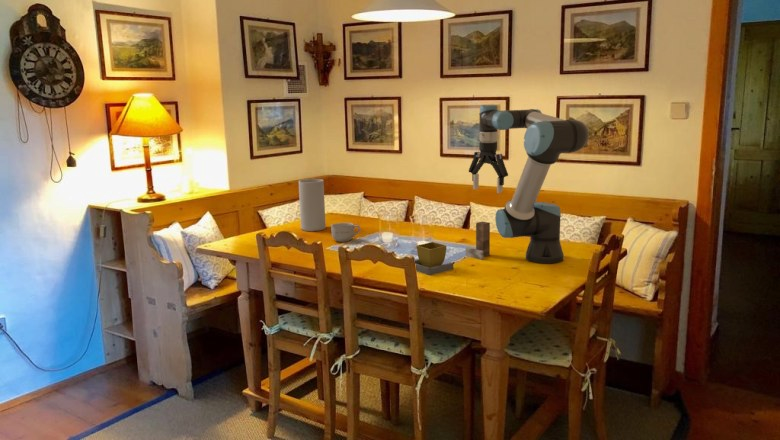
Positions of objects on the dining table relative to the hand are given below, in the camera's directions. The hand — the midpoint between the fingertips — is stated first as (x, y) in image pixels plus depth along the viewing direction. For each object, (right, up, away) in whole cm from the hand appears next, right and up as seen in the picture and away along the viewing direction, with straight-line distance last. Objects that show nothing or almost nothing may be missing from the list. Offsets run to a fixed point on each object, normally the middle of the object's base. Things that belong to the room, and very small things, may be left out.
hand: (487, 190), depth 278 cm
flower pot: (-26, -32, -23) cm, 47 cm away
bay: (-26, -32, -24) cm, 48 cm away
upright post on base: (-5, -28, -8) cm, 29 cm away
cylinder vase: (-82, -17, +51) cm, 98 cm away
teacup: (-63, -23, +25) cm, 71 cm away
